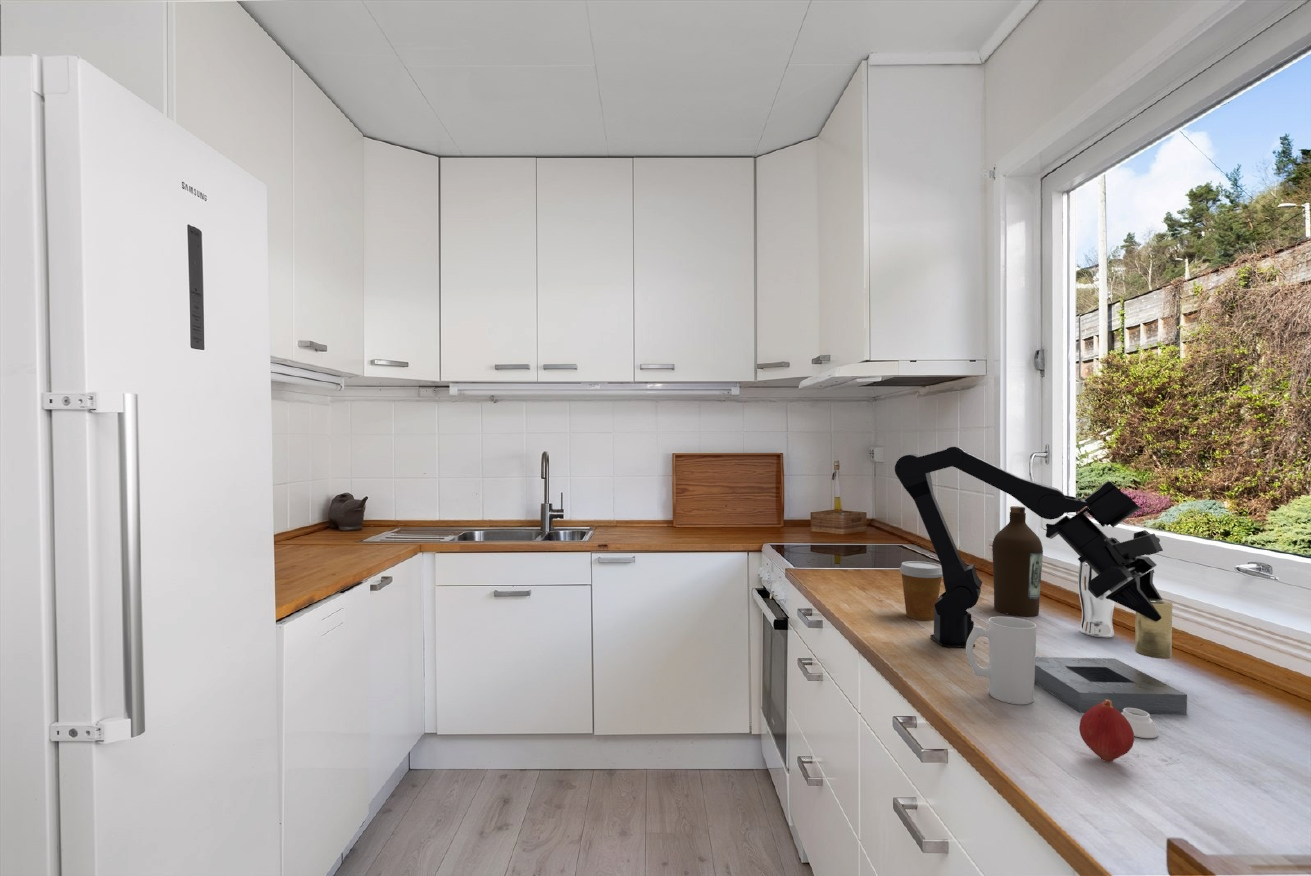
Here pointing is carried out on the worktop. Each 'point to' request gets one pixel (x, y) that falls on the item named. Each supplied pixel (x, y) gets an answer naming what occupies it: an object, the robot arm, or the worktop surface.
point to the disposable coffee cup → (921, 588)
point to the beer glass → (1094, 606)
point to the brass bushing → (1155, 632)
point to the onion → (1106, 731)
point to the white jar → (1140, 723)
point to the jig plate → (1106, 685)
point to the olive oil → (1017, 567)
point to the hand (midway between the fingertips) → (1163, 617)
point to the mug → (1007, 658)
